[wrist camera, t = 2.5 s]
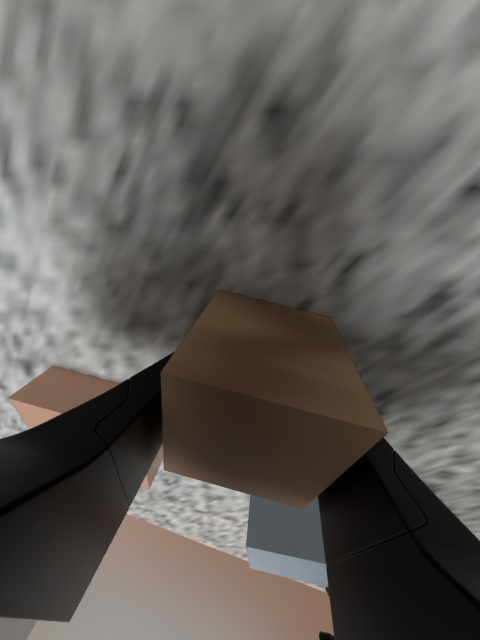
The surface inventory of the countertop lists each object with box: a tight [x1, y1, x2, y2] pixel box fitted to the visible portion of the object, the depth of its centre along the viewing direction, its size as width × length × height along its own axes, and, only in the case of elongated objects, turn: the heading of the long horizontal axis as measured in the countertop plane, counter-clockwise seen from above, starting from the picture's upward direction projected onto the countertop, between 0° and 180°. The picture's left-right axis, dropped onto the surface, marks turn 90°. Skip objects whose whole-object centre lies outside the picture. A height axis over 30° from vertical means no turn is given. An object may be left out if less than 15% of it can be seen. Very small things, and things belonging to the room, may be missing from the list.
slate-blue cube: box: [246, 495, 328, 587], centre depth 13 cm, size 5×5×5 cm
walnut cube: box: [161, 290, 388, 509], centre depth 8 cm, size 5×5×5 cm
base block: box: [8, 366, 164, 490], centre depth 14 cm, size 8×8×3 cm
